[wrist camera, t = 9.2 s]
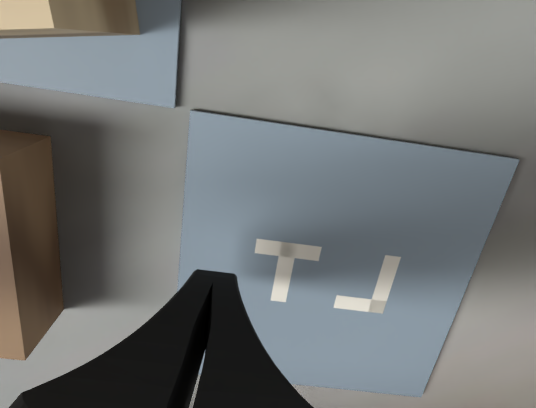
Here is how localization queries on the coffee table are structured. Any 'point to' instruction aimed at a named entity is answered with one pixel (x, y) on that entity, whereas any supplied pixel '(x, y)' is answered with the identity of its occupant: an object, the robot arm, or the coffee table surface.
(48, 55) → the code tile
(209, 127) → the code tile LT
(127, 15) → the oak block
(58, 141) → the coffee table surface
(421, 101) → the coffee table surface
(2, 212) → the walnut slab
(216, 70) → the coffee table surface
